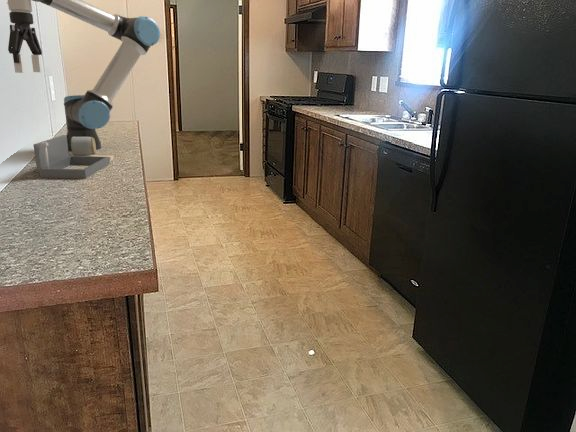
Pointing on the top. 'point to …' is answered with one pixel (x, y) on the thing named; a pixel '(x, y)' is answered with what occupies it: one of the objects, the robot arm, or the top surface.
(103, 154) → the beige square panel
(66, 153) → the case
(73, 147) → the ceramic mug
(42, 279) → the top surface
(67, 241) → the top surface
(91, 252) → the top surface
